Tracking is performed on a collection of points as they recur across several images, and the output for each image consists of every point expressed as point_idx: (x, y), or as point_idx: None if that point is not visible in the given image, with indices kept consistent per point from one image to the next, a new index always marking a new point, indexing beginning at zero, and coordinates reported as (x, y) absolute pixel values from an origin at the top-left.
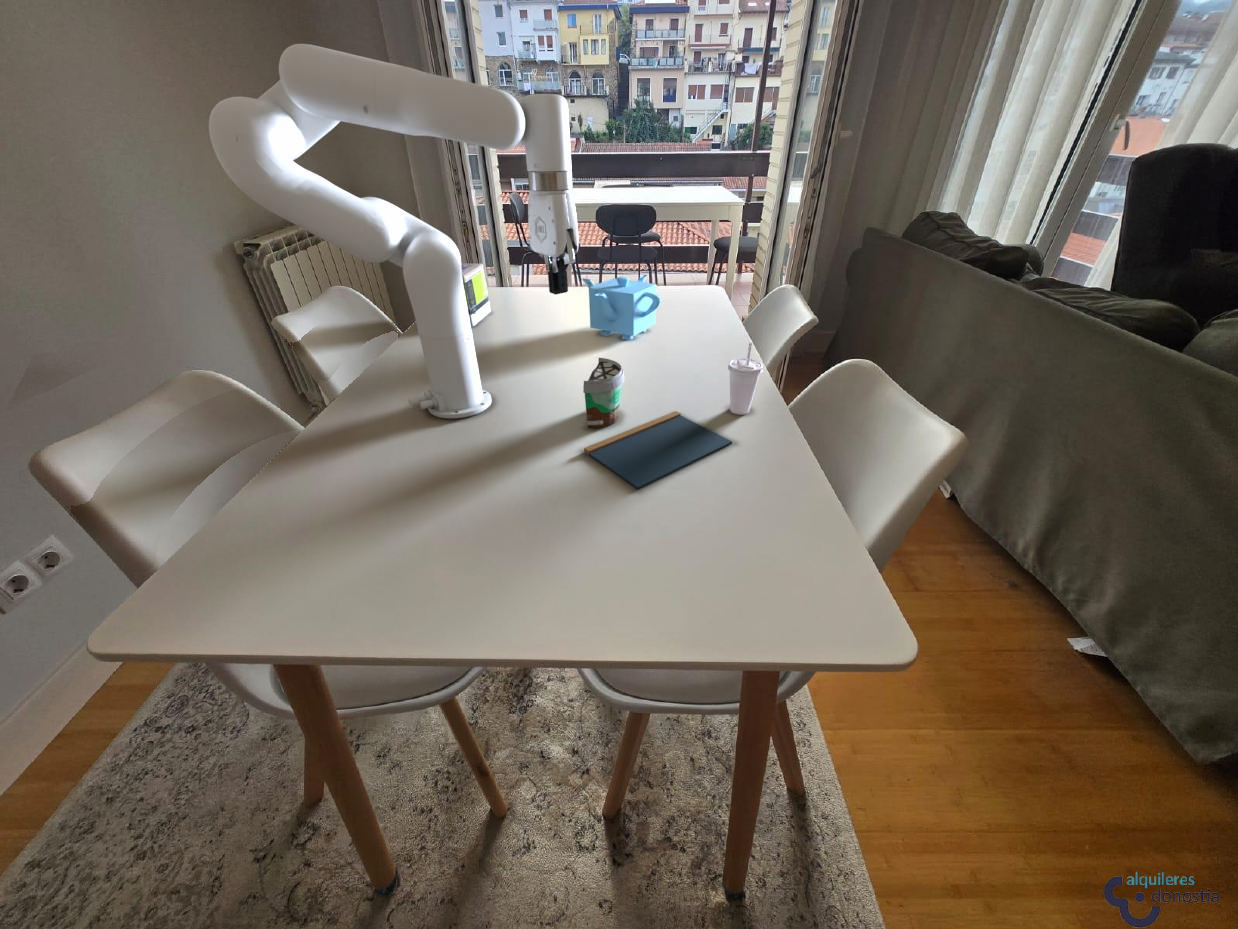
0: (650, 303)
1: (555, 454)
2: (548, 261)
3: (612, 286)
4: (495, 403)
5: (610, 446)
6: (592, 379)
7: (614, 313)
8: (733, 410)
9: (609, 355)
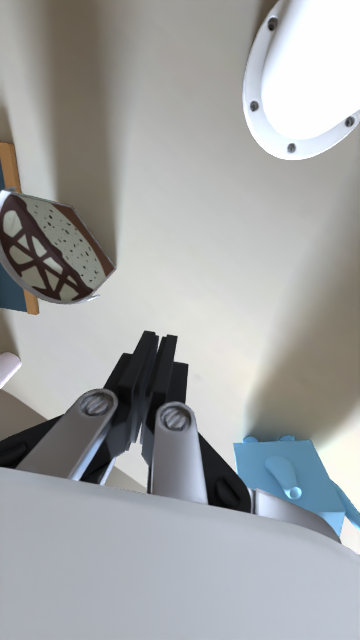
0: None
1: (30, 100)
2: (153, 451)
3: None
4: (251, 151)
5: (2, 184)
6: (25, 224)
7: (268, 467)
8: (6, 353)
9: (230, 393)
